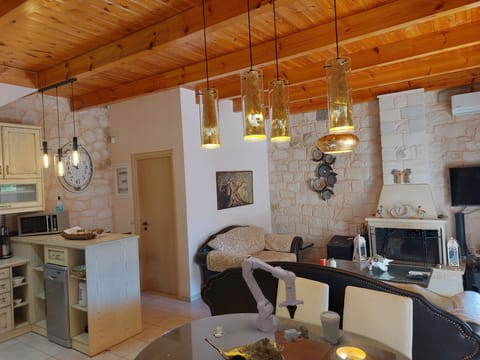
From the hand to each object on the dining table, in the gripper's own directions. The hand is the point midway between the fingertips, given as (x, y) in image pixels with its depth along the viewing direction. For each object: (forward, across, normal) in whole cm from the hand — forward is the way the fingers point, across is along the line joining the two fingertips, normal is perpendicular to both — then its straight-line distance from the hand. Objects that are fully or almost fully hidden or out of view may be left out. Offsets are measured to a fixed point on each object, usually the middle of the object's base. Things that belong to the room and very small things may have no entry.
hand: (292, 318), depth 192 cm
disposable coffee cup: (+10, +16, -15) cm, 24 cm away
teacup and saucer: (+10, -42, +16) cm, 46 cm away
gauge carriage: (+8, -2, -8) cm, 12 cm away
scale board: (+9, -4, -7) cm, 12 cm away
